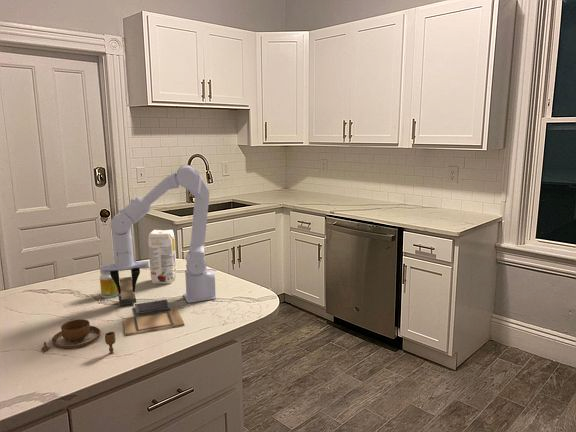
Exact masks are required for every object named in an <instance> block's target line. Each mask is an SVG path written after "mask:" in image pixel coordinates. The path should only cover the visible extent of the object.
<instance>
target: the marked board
mask: <svg viewBox="0 0 576 432" xmlns="http://www.w3.org/2000/svg"><path fill="white" fill-rule="evenodd" d="M122 320H123V325H124V332H125V337H127V336H132V335H140V334H145V333H149V332H155V331H162V330H166V329H167V330H168V329H173V328H178V327H185V322H184V320H183V318H182V316H181V313H180V311H179V309H172V310H171V311H165V312H159V313H152V314H146V315H140V316H137V315H134V316H129V317H127V316H126V317H123V318H122Z"/></svg>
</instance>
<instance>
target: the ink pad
mask: <svg viewBox="0 0 576 432" xmlns="http://www.w3.org/2000/svg"><path fill="white" fill-rule="evenodd" d="M134 309H135V313H136V316H140V315H146V314H152V313H159V312H165V311H172V310H171V305H170V303H169V301H168V299H160V300H154V301H146V302H140V303H134Z"/></svg>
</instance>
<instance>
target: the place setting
mask: <svg viewBox="0 0 576 432" xmlns="http://www.w3.org/2000/svg"><path fill="white" fill-rule="evenodd" d="M90 324H91V323H90V321H89V320H87V319H84V318H83V319H82V318H81V319H79V318H78V319H73V320H69V321H67V322H65V323H63V324H61V326H60V330H61V331H58V332H57V333H55V334H54V335H53V336H52V338H51V343H52V345H53V347H55V348H57V349H59V350H76V349H80V348H85V347H87V346H90V345H92V344H93V343H95V342H97V341H98V340H99V338H100V336H101V329H100V328H99V327H97V326H94V325H90ZM91 332H93V333H95V334H96V336H95V337H93V338H92V339H90V340H87V341H85V342H82V341H84V340H85V339H86V337H88V336H89V334H90V333H91ZM60 338H63V339H64V340H66V341H68V342H69V343H75V344H70V345H69V344H68V345H65V344H58V343H57V341H58V340H59V339H60ZM104 341H105V344H106V345H107V346H108V351H109V353H108V355H114V354H115V352H114V347H113V345H114V344H115V343H116V333H115V331H108V332H106V333H104ZM78 342H80V343H78ZM77 343H78V344H77ZM49 349H50V346H47V341H44V342H43V346H42V347H41V349H40V350H41V351H42V352H48V350H49Z"/></svg>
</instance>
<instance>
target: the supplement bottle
mask: <svg viewBox="0 0 576 432" xmlns="http://www.w3.org/2000/svg"><path fill="white" fill-rule="evenodd" d="M99 284H100V295H101V297H102V298H105V299H107V298H109V299H111V298H113V297H114V298H115V297H116V296H118V295H119V293H118V289H117V286H116V284H115V282H114V280H113V279H112V277H111V275H110V272H108V273H104V274H101V273H100V276H99Z"/></svg>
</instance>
